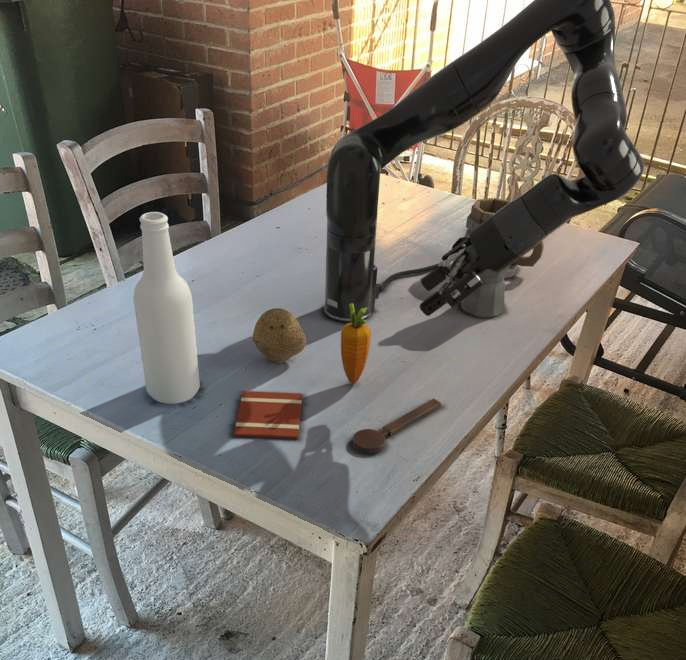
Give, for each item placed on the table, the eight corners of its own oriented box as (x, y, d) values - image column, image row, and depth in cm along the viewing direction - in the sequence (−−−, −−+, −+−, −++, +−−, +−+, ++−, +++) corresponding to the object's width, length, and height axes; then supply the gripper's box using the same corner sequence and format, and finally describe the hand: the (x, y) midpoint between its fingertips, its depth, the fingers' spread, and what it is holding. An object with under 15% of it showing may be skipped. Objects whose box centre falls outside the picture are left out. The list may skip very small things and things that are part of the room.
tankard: (452, 272, 168) (461, 206, 159) (466, 251, 177) (476, 187, 168) (541, 291, 163) (557, 223, 153) (552, 268, 172) (567, 203, 163)
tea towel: (302, 395, 128) (302, 393, 128) (297, 438, 119) (297, 436, 118) (243, 393, 128) (242, 390, 128) (233, 436, 119) (233, 433, 118)
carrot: (337, 376, 133) (341, 298, 124) (365, 376, 134) (371, 298, 124) (339, 392, 129) (343, 313, 120) (368, 391, 130) (374, 313, 120)
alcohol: (140, 403, 124) (114, 226, 106) (153, 375, 131) (131, 203, 112) (194, 407, 124) (177, 230, 105) (204, 378, 131) (190, 207, 112)
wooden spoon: (425, 398, 129) (426, 393, 128) (448, 411, 126) (449, 406, 126) (346, 443, 118) (346, 437, 118) (368, 458, 116) (369, 452, 115)
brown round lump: (243, 355, 137) (241, 305, 131) (284, 342, 142) (284, 293, 135) (270, 378, 132) (269, 327, 126) (312, 364, 136) (313, 314, 130)
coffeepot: (498, 293, 161) (514, 210, 150) (521, 313, 154) (539, 228, 143) (433, 302, 157) (444, 217, 146) (453, 323, 150) (466, 236, 139)
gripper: (491, 198, 116) (409, 262, 124) (496, 234, 105) (406, 302, 113) (520, 234, 120) (438, 294, 127) (527, 273, 108) (438, 336, 116)
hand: (423, 298), depth 120 cm, fingers open, 8 cm apart
